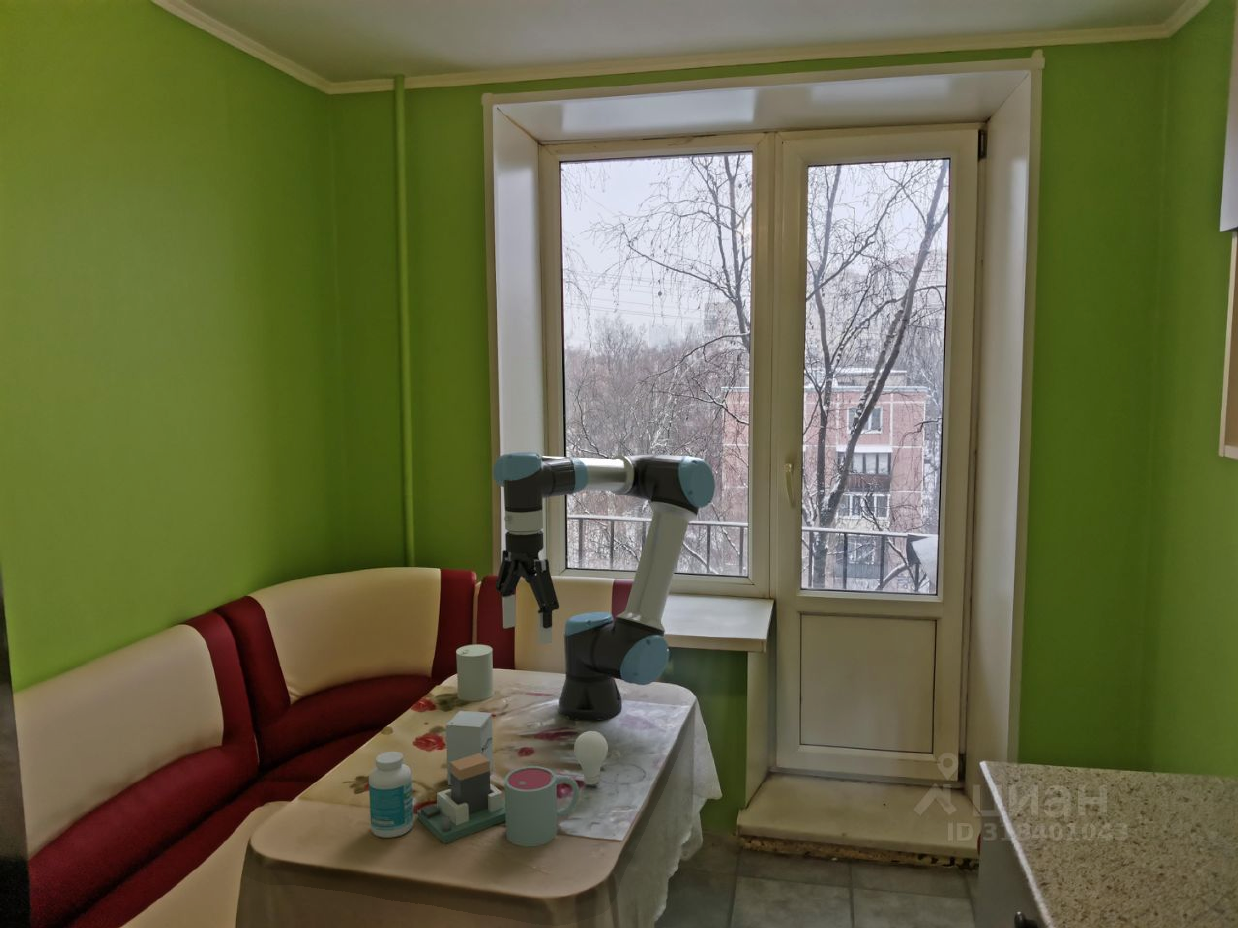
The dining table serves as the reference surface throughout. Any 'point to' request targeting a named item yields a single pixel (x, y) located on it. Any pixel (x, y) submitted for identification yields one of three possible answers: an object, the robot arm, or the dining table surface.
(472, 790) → the plug
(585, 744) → the light bulb
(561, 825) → the dining table surface
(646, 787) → the dining table surface
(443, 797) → the board
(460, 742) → the supplement box
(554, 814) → the mug
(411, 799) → the pill bottle
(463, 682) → the can
